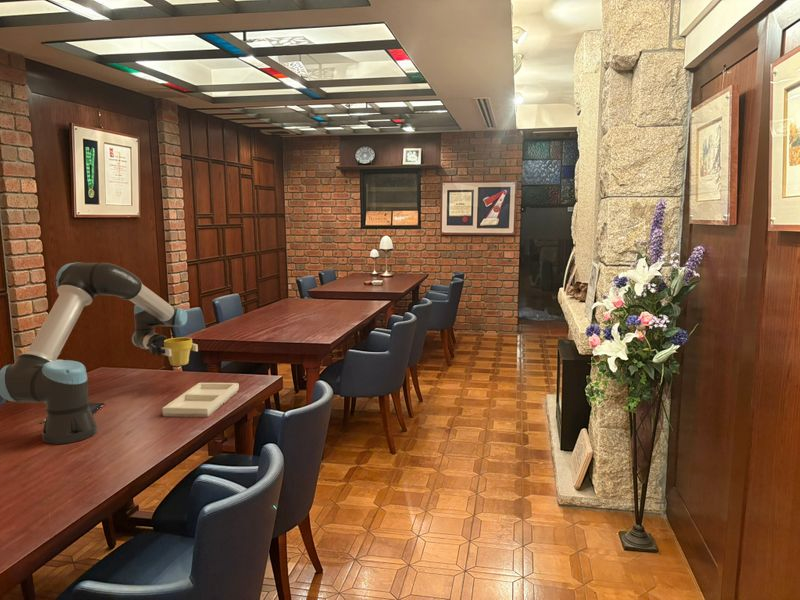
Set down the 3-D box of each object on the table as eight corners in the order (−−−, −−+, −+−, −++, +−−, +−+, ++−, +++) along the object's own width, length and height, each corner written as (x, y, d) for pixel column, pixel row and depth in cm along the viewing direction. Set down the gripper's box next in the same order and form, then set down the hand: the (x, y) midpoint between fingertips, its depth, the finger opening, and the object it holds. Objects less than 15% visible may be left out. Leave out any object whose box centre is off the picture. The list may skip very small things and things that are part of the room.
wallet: (83, 418, 192) (36, 420, 190) (84, 424, 192) (36, 426, 191) (108, 400, 212) (65, 401, 210) (109, 405, 212) (66, 406, 210)
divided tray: (207, 416, 196) (207, 408, 196) (162, 416, 197) (162, 407, 197) (238, 390, 227) (238, 383, 227) (199, 389, 228) (199, 382, 228)
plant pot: (174, 360, 231) (172, 336, 230) (198, 361, 230) (196, 337, 229) (159, 366, 221) (158, 341, 220) (184, 367, 220) (183, 342, 218)
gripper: (182, 347, 245) (210, 354, 231) (129, 356, 228) (155, 365, 214) (181, 330, 244) (209, 336, 230) (128, 338, 227) (154, 345, 213)
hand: (183, 350), depth 222 cm, fingers closed on plant pot, 10 cm apart
